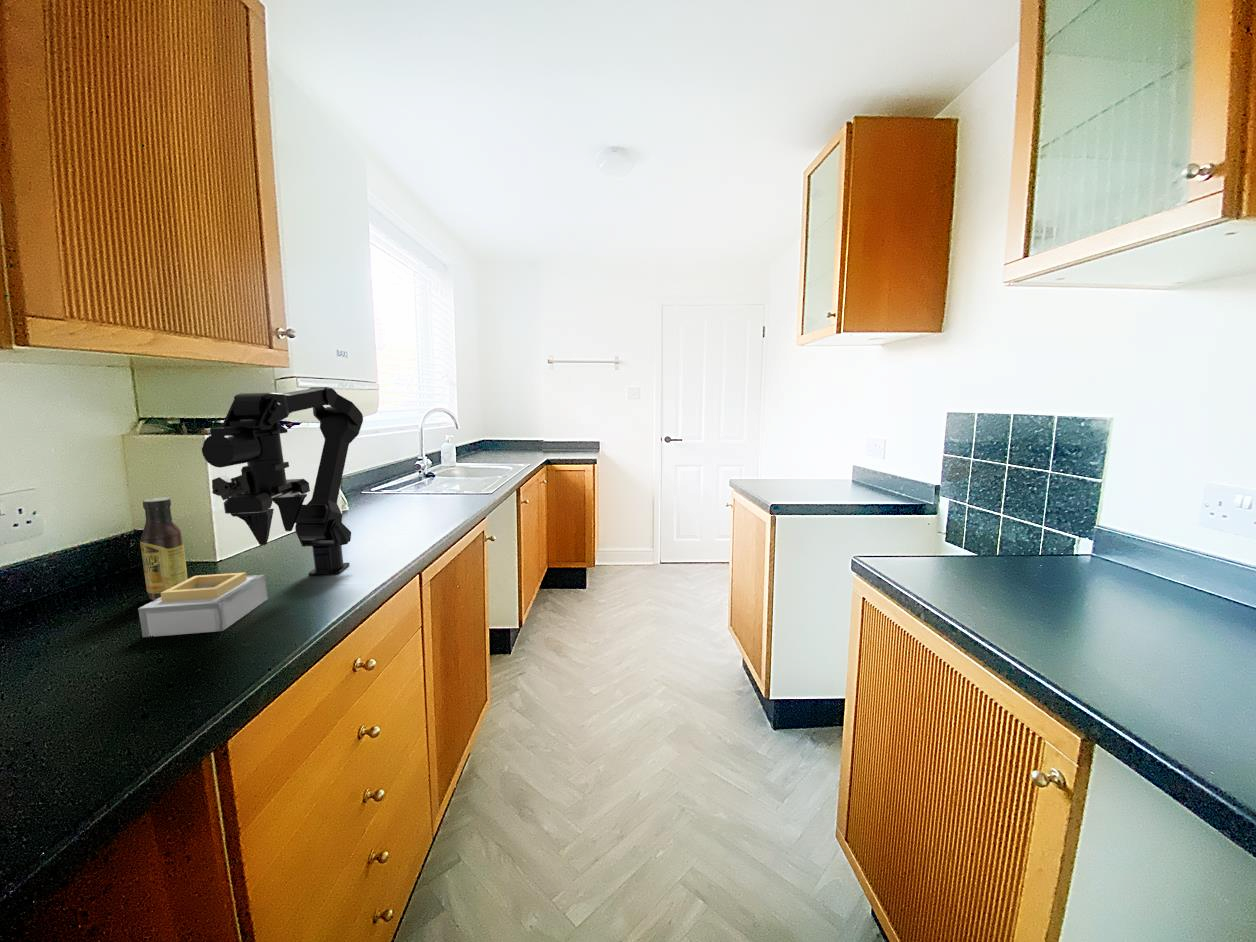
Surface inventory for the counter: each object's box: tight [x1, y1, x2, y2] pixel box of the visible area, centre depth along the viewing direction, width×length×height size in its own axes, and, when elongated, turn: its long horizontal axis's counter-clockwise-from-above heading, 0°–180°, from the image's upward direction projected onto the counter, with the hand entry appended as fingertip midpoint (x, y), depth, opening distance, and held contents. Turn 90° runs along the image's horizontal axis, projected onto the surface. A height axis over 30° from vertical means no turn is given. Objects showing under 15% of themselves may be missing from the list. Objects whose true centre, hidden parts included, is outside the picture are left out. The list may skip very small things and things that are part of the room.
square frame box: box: [137, 571, 269, 638], centre depth 92 cm, size 14×12×6 cm
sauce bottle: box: [139, 497, 189, 601], centre depth 102 cm, size 6×6×20 cm
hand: (276, 537), depth 101 cm, fingers open, 9 cm apart
